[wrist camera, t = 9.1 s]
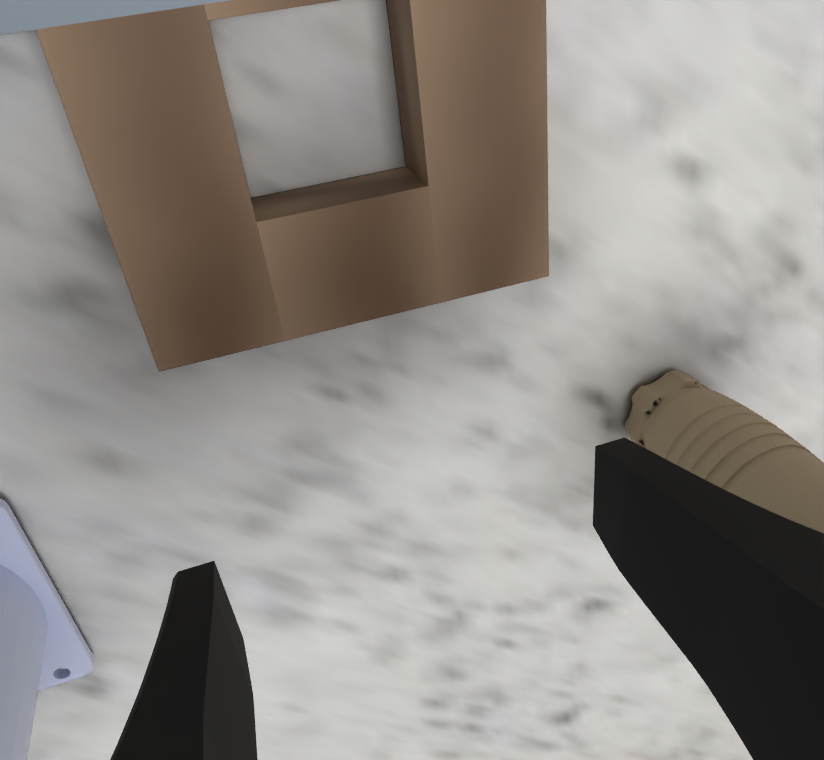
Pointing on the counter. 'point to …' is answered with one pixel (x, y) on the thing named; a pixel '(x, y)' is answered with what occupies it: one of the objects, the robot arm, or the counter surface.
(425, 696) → the counter surface
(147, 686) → the robot arm
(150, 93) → the mount block
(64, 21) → the socket block
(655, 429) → the handle
